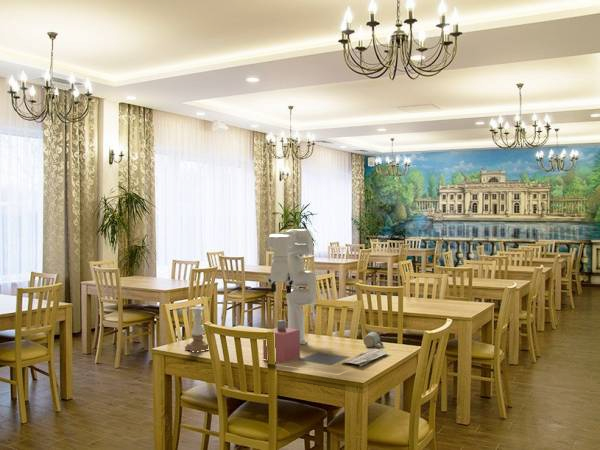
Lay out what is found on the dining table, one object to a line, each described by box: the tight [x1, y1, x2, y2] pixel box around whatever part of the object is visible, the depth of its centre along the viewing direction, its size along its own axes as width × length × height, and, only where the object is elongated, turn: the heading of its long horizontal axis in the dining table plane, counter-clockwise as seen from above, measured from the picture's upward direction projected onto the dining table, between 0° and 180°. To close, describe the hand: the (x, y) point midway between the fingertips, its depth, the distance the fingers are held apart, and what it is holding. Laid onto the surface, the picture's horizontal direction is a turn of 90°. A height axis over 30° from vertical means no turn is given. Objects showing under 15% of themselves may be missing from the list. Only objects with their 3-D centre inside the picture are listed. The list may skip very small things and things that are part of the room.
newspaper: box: [341, 348, 390, 368], centre depth 302 cm, size 35×12×4 cm, turn 150°
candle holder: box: [184, 305, 209, 352], centre depth 330 cm, size 11×11×24 cm
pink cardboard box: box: [262, 319, 301, 364], centre depth 306 cm, size 13×14×20 cm
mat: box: [297, 352, 350, 366], centre depth 304 cm, size 20×20×1 cm
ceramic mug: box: [363, 331, 384, 348], centre depth 334 cm, size 11×8×8 cm
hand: (281, 292), depth 306 cm, fingers open, 9 cm apart
